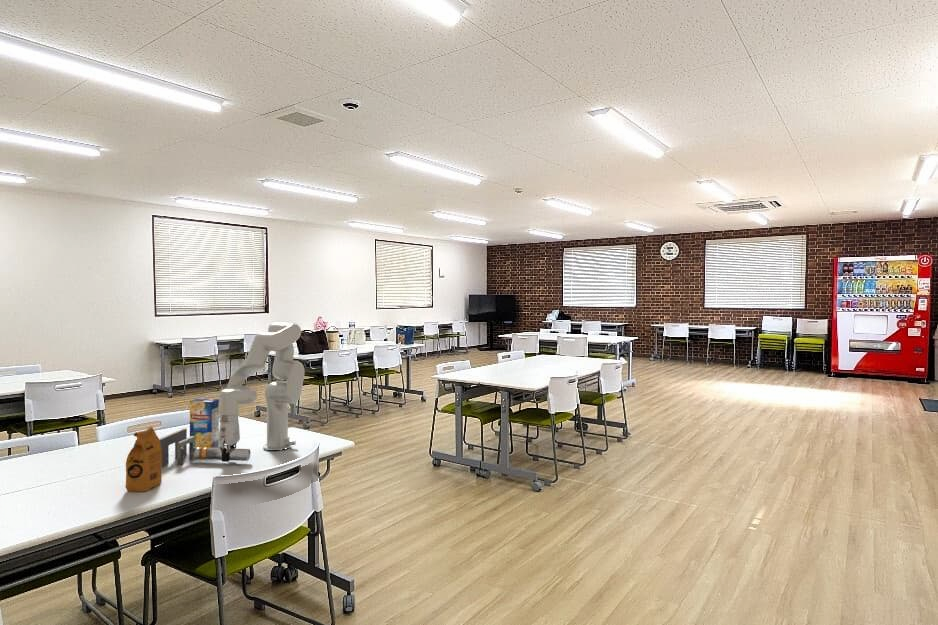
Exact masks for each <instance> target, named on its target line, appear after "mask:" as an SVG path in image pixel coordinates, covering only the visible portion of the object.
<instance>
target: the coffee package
mask: <svg viewBox="0 0 938 625" xmlns="http://www.w3.org/2000/svg"><path fill="white" fill-rule="evenodd" d="M133 437H136V440H135V443H134V444H133V447H131V449H130V451H128V452H129V453H128V454H127V457H126V459H125V489H126V491H127V492H129V491H130V492H134V491H135V492H136V491H138V492H140V493H145V492H144V491H147V492H149V491H150V490H151V489H152V488H157V487H158V486H159V485H160V484H161V483H162V479H163V478H162V477H163V476H162V471H163V469H162V468H163V467H162V452H161V444H160V440H159V436H158V435H157V433H156V432H155V429H154V428H153V426H147V429H146V430H143V431H137V432H134V434H133ZM156 486H157V487H156ZM148 490H149V491H148ZM135 492H134V493H135ZM136 493H137V492H136Z"/></svg>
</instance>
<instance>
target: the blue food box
mask: <svg viewBox="0 0 938 625" xmlns="http://www.w3.org/2000/svg"><path fill="white" fill-rule="evenodd" d="M219 430H220V422H219V398H194V399H192V400H190V401H189V437H191V436H195V447H203V448H215V447H216V446H218V445H220V444H219Z"/></svg>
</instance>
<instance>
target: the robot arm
mask: <svg viewBox="0 0 938 625" xmlns="http://www.w3.org/2000/svg"><path fill="white" fill-rule="evenodd" d="M301 335H302V329H301V326H299V325H298V324H297V323H291V322H290V323H289V322H273V323H271V324H270V325H268V330H267V332H259V333H257V334H256V335H255V336H254V337H253V341H252V342H251V346H250V349H249V351H248V354H247V355H246V359H245V361H244V362H243V363H242V364H241V365H240V366H239V367H238V368H237V369H236V370H235V372H233V374H232V375H231V376H230V378H229V379H228V383H227V385H226V388H225V389H222V390H220V391H219V394H218V395H219V398H218V399H219V444H218V445H219V446H218V448H220V449H221V453H222V460H221V462H223V463H225V462H227V463H228V462H230V461H231V460H230V452H229V448H233V449H237V444H238V442H239V441H240V438H241V433H240V422H239V406H240V405H250V404H253V403H254V402H255V401H256V400H257V397H258V396H257V395H258V393H257V390H255V388H253V387H250V386H244V384H243V383H244V382H245V381H246V380H247V378H249V377H250V376H251V375H253V374H255V373H257V372H260V371H261V370H263V369H264V368H265V365H266V362H267V361H268V358H269V356H270V355H269V354H270V352H275V354H274V359H273V364H272V370H271V372H272V374H271V375H272V377H274V378H276V379H278V380H282V381H283V380H284V381H286V382H284V381H283V382H282V381H272V382H269V384H267V385H266V387H265V388H264V389H265V390H264V397H265V403H266V444H263V450H264V449H265V451H268V450H280V451H282V450H281V449H285V448H289V447H290V446H291V447H292V446H295V445H296V444H297V441H296V440H295V439H293V440H292V439H291V438H290V436H289V434H288V432H289V431H288V430H289V427H288V426H289V411H288V410H289V409H288V406H287V404H289V405H291V404H296V403H297V402H298V401H299V400H300V397H301V394H302V390H303V385H304V379H305V371H306V370H305V367H304V364H303V363H302V362H300V361H298V360H294V354H295V347H294V343H296V341H298V340H299V339H300V337H301ZM291 447H290V448H291ZM226 448H227V449H226ZM290 448H289V449H290Z"/></svg>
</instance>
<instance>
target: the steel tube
mask: <svg viewBox="0 0 938 625" xmlns="http://www.w3.org/2000/svg"><path fill="white" fill-rule="evenodd" d="M225 448H226V449H227V447H225ZM229 452H230V461H237V462H238V461H240V462H244V461H245V462H248V461H249V460H250V459H251V454H252V453H251V450H250V448H236V449H233V448H229ZM191 457H192V459H191V460H212V461H213V460H214V461H222V453H221V449H220V448H219V447H212V448H208V447H194V448H193V449H192V452H191Z"/></svg>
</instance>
